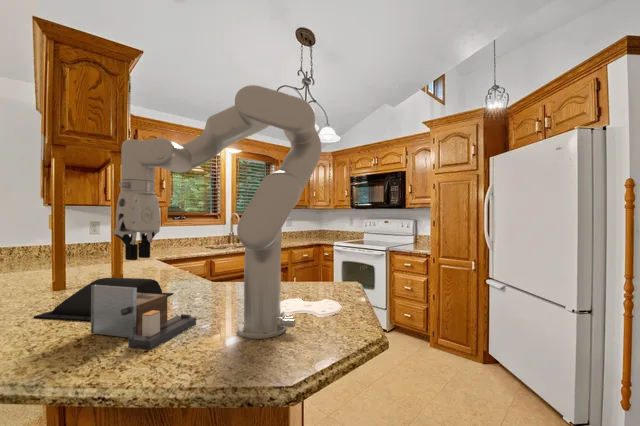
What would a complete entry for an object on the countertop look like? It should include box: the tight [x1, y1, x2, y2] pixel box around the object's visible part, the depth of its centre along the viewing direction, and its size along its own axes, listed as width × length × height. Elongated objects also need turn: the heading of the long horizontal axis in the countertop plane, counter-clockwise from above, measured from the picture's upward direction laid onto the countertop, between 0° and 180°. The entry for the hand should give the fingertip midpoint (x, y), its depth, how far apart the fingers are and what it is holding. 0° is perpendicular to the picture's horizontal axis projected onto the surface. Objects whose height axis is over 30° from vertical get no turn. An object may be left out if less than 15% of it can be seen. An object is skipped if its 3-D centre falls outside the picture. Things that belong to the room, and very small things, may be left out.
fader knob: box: [142, 310, 160, 337], centre depth 70 cm, size 2×3×5 cm
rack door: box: [90, 285, 137, 339], centre depth 73 cm, size 13×2×12 cm, turn 77°
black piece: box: [33, 277, 174, 323], centre depth 100 cm, size 24×8×30 cm
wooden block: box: [136, 293, 168, 335], centre depth 79 cm, size 13×10×8 cm
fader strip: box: [127, 313, 197, 351], centre depth 75 cm, size 6×16×3 cm, turn 167°
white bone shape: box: [281, 297, 342, 317], centre depth 97 cm, size 20×2×25 cm
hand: (138, 258), depth 77 cm, fingers open, 3 cm apart
